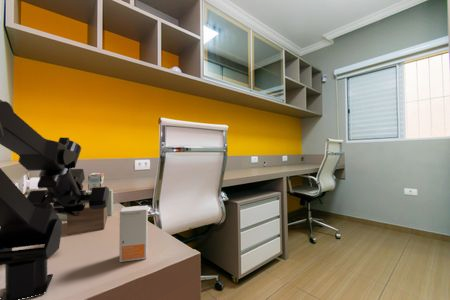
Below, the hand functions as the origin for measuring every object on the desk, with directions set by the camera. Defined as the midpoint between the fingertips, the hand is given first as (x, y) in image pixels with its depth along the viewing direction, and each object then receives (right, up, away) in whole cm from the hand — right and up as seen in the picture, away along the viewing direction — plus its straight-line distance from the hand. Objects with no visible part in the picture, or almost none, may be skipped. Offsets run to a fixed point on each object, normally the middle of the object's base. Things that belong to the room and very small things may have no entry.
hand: (77, 214), depth 64 cm
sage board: (-11, -7, +20) cm, 24 cm away
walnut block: (-3, -7, +11) cm, 13 cm away
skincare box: (+22, -7, -12) cm, 26 cm away
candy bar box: (-11, -7, +28) cm, 31 cm away
